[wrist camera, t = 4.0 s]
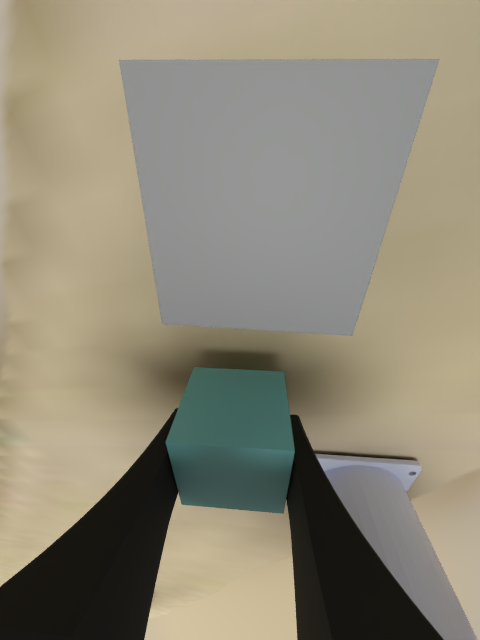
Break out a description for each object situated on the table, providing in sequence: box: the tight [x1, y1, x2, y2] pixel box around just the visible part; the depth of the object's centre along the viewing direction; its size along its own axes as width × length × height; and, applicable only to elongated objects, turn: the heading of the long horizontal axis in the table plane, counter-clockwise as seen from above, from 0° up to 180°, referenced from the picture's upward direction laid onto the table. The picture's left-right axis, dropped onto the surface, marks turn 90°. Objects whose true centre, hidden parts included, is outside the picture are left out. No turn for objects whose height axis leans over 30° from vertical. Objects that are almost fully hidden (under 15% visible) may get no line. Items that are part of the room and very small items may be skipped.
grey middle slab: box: [119, 59, 439, 336], centre depth 8 cm, size 7×7×2 cm
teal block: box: [166, 367, 295, 513], centre depth 11 cm, size 4×4×4 cm
